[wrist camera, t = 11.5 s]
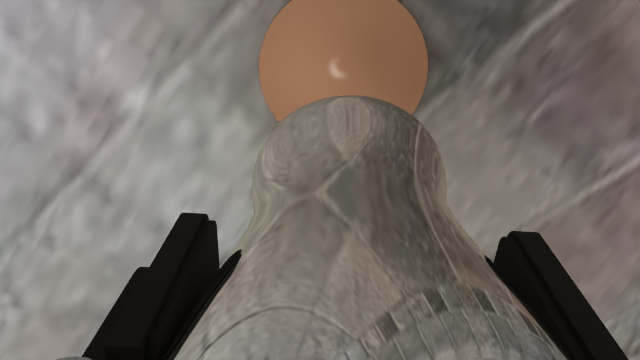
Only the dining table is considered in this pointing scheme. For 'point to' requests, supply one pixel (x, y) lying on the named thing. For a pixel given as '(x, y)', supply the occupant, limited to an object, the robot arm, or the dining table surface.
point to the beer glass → (357, 255)
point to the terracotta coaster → (342, 54)
